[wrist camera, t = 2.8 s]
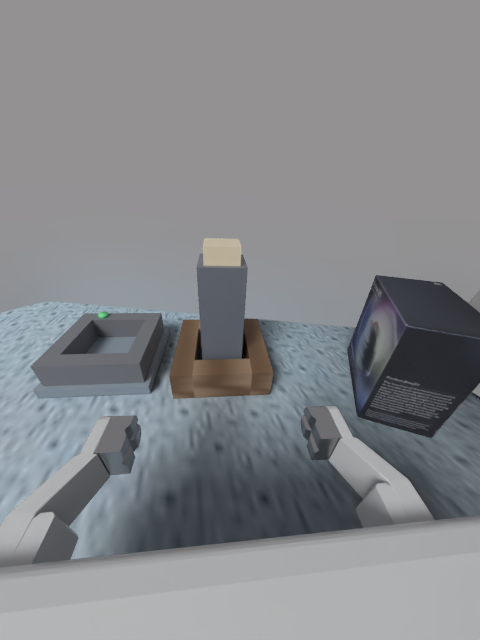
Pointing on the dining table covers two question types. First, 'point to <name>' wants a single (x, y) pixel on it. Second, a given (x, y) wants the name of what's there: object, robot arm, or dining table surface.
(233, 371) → the frame
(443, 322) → the small box
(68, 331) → the dock
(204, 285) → the plug
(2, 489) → the dining table surface
